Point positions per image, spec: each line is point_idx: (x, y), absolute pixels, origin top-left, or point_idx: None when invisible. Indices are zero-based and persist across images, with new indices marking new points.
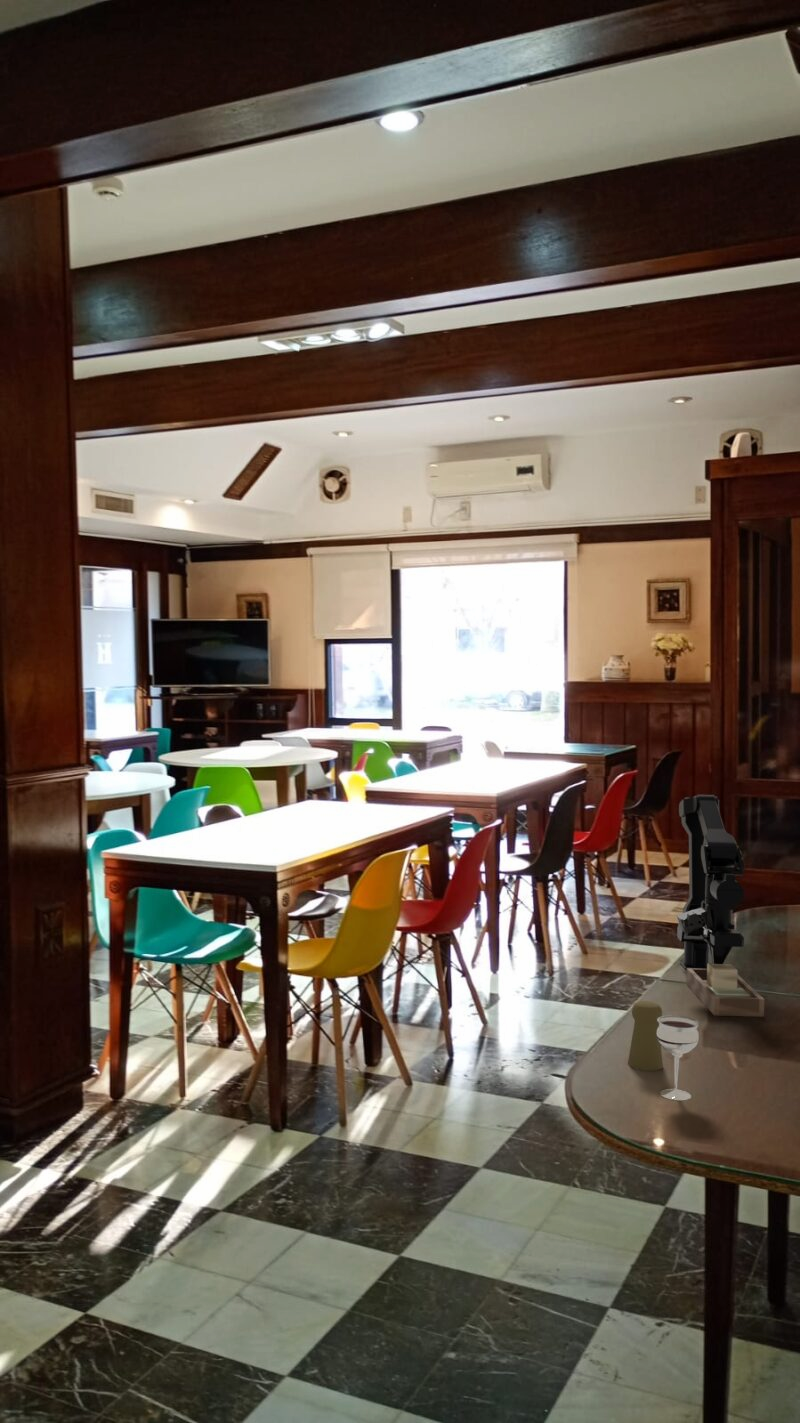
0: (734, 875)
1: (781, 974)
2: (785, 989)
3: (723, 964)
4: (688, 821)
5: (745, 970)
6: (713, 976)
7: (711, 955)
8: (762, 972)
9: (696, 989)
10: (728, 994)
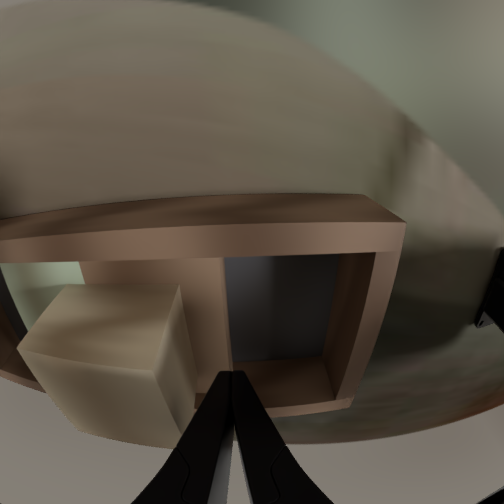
0: None
1: (394, 430)
2: None
3: (168, 431)
4: None
5: (443, 384)
6: (36, 322)
7: (241, 443)
8: (418, 408)
9: (140, 208)
10: (25, 317)
